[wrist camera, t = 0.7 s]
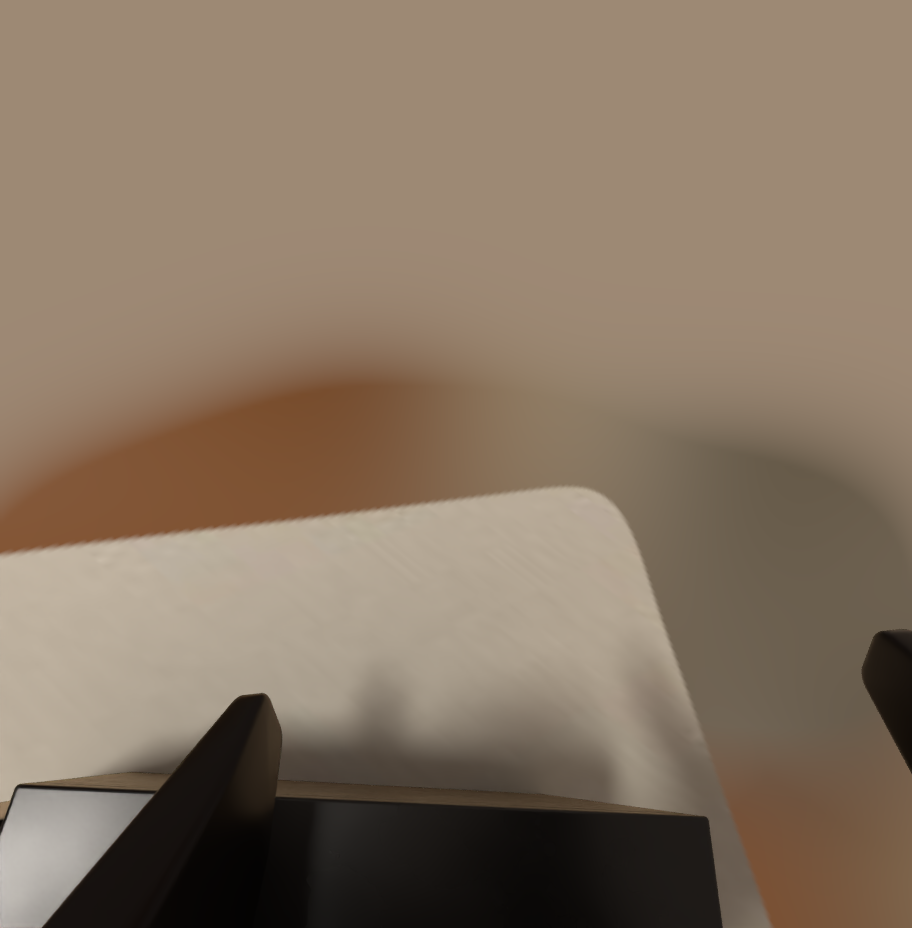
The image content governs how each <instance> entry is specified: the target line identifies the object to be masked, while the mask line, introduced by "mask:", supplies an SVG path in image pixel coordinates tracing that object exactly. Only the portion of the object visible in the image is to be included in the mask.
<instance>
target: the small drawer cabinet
mask: <svg viewBox="0 0 912 928" xmlns="http://www.w3.org/2000/svg"><path fill="white" fill-rule="evenodd" d="M170 775H171V774H161V773H142V772H126V773H117V774H108V775H99V776H90V777H81V778H72V779H63V780H54V781H45V782H37V783H24V784H19V785H17V786H16V788H15V790H14V792H13V795H12V798H11V800H10V803H9V806H8V809H7V811H6V814H5V817H4V820H3V822H2V825H1V828H0V928H41V927H42V926H43V925H44V924H45V923H46V921H47V920H48V919H49V918H50V917H51V916H52V914H53V913H54V912H55V911H56V910H57V909H58V907H59V906H60V905H61V904H62V903H63V901H64V900H65V899H66V898H67V897H68V896H69V894H70V893H71V892H72V891H73V890H74V888H75V887H76V886H77V885H78V884H79V883H80V881H81V880H82V879H83V878H84V877H85V876H86V874H87V873H88V872H89V871H90V870H91V868H92V867H93V866H94V865H95V864H96V863H97V861H98V860H99V859H100V858H101V857H102V855H103V854H104V853H105V852H106V851H107V850H108V848H109V847H110V846H111V845H112V844H113V843H114V841H115V840H116V839H117V838H118V837H119V835H120V834H121V833H122V832H123V831H124V830H125V828H126V827H127V826H128V825H129V824H130V822H131V821H132V820H133V819H134V818H135V817H136V815H137V814H138V813H139V812H140V811H141V810H142V808H143V807H144V806H145V805H146V804H147V802H148V801H149V800H150V799H151V798H152V797H153V795H154V794H155V793H156V792H157V791H158V789H159V788H160V787H161V786H162V785H163V784H164V782H165V781H166V780H167V779H168V778H169V777H170ZM253 928H723V926H722V919H721V911H720V904H719V896H718V888H717V881H716V873H715V866H714V858H713V850H712V843H711V835H710V827H709V820H708V818H707V817H705V816H698V815H691V814H683V813H676V812H669V811H662V810H654V809H647V808H640V807H632V806H625V805H618V804H611V803H603V802H596V801H589V800H582V799H574V798H567V797H560V796H553V795H545V794H533V793H514V792H496V791H477V790H459V789H440V788H421V787H403V786H384V785H365V784H347V783H328V782H310V781H291V780H278V781H277V789H276V798H275V806H274V814H273V823H272V831H271V839H270V846H269V853H268V859H267V864H266V869H265V874H264V878H263V883H262V887H261V892H260V896H259V901H258V905H257V910H256V914H255V919H254V923H253Z"/></svg>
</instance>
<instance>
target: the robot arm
mask: <svg viewBox="0 0 912 928" xmlns="http://www.w3.org/2000/svg"><path fill="white" fill-rule="evenodd" d="M862 679H863V682H864V685H865V687H866V689H867V691H868V693H869V695H870V697H871V699H872V700H873V702H874V704H875V706H876V708H877V710H878V712H879V714H880V715H881V717H882V719H883V721H884V723H885V725H886V727H887V729H888V730H889V732H890V734H891V736H892V738H893V740H894V742H895V743H896V745H897V747H898V749H899V751H900V753H901V755H902V756H903V758H904V760H905V762H906V764H907V766H908V768H909V770H910V771H911V773H912V631H911V630H907V629H897V630H887V631H880V632H878V633H877V634H875V636H874V637H873V640H872V642H871V645H870V647H869V650H868V653H867V655H866V658H865V661H864V664H863V666H862ZM281 747H282V731H281V727H280V724H279V721H278V719H277V716H276V713H275V711H274V708H273V706H272V703H271V700H270V698H269V697H268V696H267V695H266V694H264V693H259V694H249V695H242V696H239V697H238V698H236V699H235V700H234V701H233V702H232V703H231V705H230V706H229V707H228V708H227V709H226V710H225V712H224V713H223V714H222V715H221V716H220V718H219V719H218V720H217V721H216V722H215V723H214V725H213V726H212V727H211V728H210V729H209V731H208V732H207V733H206V734H205V735H204V736H203V738H202V739H201V740H200V741H199V742H198V743H197V745H196V746H195V747H194V748H193V749H192V751H191V752H190V753H189V754H188V755H187V756H186V758H185V759H184V760H183V761H182V762H181V764H180V765H179V766H178V767H177V768H176V769H175V771H174V772H173V773H172V774H171V775H170V777H169V778H168V779H167V780H166V781H165V782H164V784H163V785H162V786H161V787H160V788H159V789H158V791H157V792H156V793H155V794H154V795H153V797H152V798H151V799H150V800H149V801H148V802H147V804H146V805H145V806H144V807H143V808H142V810H141V811H140V812H139V813H138V814H137V815H136V817H135V818H134V819H133V820H132V821H131V822H130V824H129V825H128V826H127V827H126V828H125V830H124V831H123V832H122V833H121V834H120V835H119V837H118V838H117V839H116V840H115V841H114V843H113V844H112V845H111V846H110V847H109V848H108V850H107V851H106V852H105V853H104V854H103V855H102V857H101V858H100V859H99V860H98V861H97V863H96V864H95V865H94V866H93V867H92V868H91V870H90V871H89V872H88V873H87V874H86V876H85V877H84V878H83V879H82V880H81V881H80V883H79V884H78V885H77V886H76V887H75V888H74V890H73V891H72V892H71V893H70V894H69V896H68V897H67V898H66V899H65V900H64V901H63V903H62V904H61V905H60V906H59V907H58V909H57V910H56V911H55V912H54V913H53V914H52V916H51V917H50V918H49V919H48V920H47V921H46V923H45V924H44V925H43V926H42V927H41V928H253V923H254V919H255V914H256V910H257V905H258V901H259V896H260V892H261V887H262V883H263V878H264V874H265V869H266V864H267V859H268V853H269V846H270V839H271V831H272V823H273V814H274V806H275V798H276V789H277V781H278V772H279V764H280V755H281Z"/></svg>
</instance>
